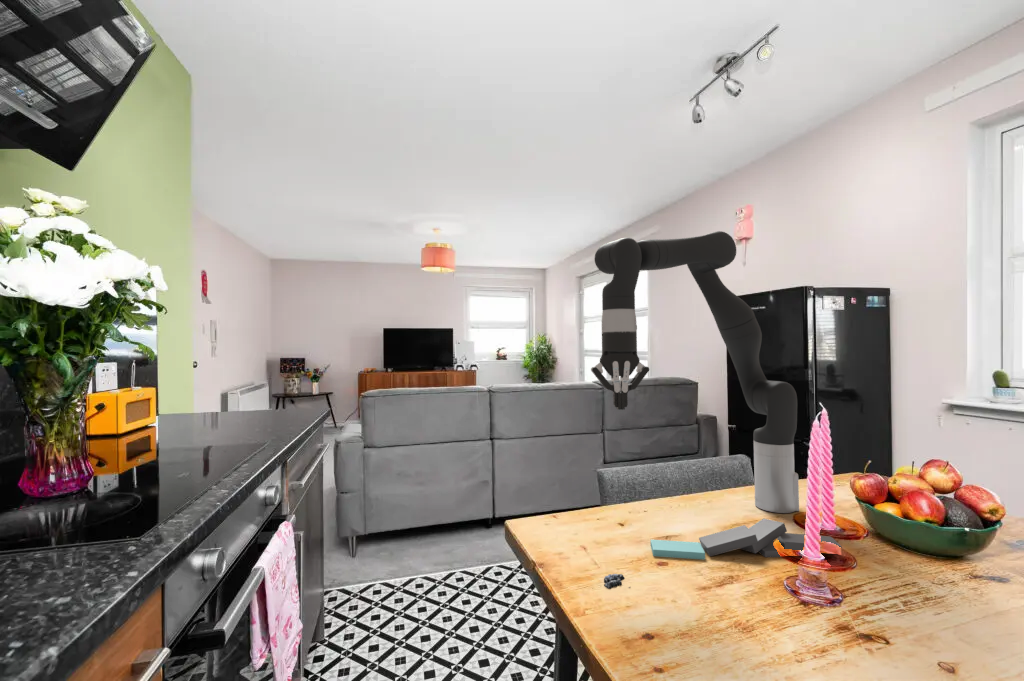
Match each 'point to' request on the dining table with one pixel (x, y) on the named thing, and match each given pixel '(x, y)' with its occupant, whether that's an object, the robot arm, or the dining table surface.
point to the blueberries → (613, 580)
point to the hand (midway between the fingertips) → (620, 409)
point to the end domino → (677, 549)
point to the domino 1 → (728, 540)
